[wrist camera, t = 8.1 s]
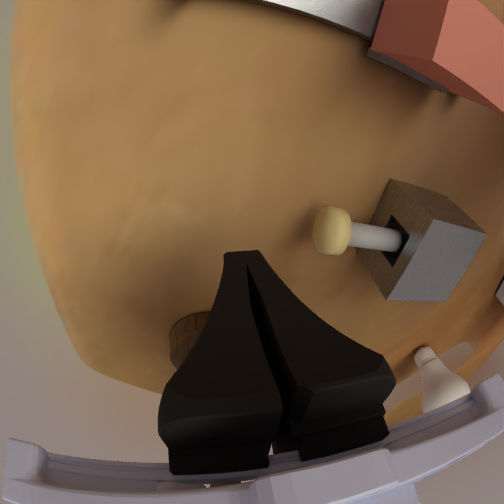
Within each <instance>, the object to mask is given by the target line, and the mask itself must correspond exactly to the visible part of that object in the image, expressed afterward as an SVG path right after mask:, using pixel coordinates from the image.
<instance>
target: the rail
mask: <svg viewBox="0 0 504 504" xmlns="http://www.w3.org/2000/svg"><path fill="white" fill-rule="evenodd" d="M247 1H251V2H256V3H260V4H264V5H268V6H272V7H276V8H279V9H283V10H286V11H290V12H293V13H297V14H300V15H303V16H306V17H309V18H312V19H315V20H318V21H321V22H324V23H326V24H329V25H332V26H335V27H337V28H340V29H342V30H345V31H347V32H350V33H352V34H355V35H357V36H359V37H362V38H364V39H366V40H369V41H371V42H373V39H374V36H375V33H376V29H377V26H378V22H379V19H380V15H381V12H382V8H383V5H384V1H385V0H247Z"/></svg>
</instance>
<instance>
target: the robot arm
mask: <svg viewBox="0 0 504 504" xmlns="http://www.w3.org/2000/svg"><path fill="white" fill-rule="evenodd" d="M395 385H396V379H395V377H394V375H393V373H392V370H391V368H390V366H389V365H388V363H387V362H386V360H385V358H384V357H383V355H381V354H379V353H377V352H375V351H373V350H370V349H368V348H366V347H364V346H362V345H360V344H358V343H357V342H355V341H353V340H352V339H350V338H348V337H347V336H345V335H343V334H342V333H340V332H339V331H337V330H336V329H334V328H333V327H332V326H330V325H329V324H327V323H326V322H325V321H323V320H322V319H321V318H320V317H318V316H317V315H316V314H315V313H313V312H312V311H311V310H310V309H309V308H308V307H307V306H306V305H304V304H303V303H302V302H301V301H300V300H299V299H298V298H297V297H296V296H295V295H294V294H293V293H292V291H291V290H290V289H289V288H288V287H287V286H286V285H285V284H284V282H283V281H282V280H281V279H280V278H279V277H278V275H277V274H276V273H275V272H274V270H273V269H272V268H271V266H270V265H269V264H268V262H267V261H266V260H265V258H264V257H263V255H262V254H261V252H260V251H258V250H252V251H237V252H226V253H225V254H224V266H223V273H222V277H221V281H220V285H219V289H218V292H217V295H216V298H215V301H214V304H213V307H212V309H211V312H210V314H209V316H208V319H207V321H206V323H205V325H204V327H203V329H202V331H201V333H200V335H199V337H198V339H197V340H196V342H195V344H194V346H193V347H192V349H191V350H190V352H189V353H188V355H187V357H186V358H185V360H184V361H183V363H182V364H181V366H180V367H179V368H178V370H177V371H176V372H175V373H174V375H173V376H172V377H171V379H170V380H169V381H168V382H167V384H166V386H165V389H164V392H163V395H162V398H161V402H160V406H159V412H158V433H159V436H160V437H161V439H162V440H163V442H164V443H165V444H166V446H167V447H168V451H169V453H168V454H169V463H137V462H119V461H107V460H96V459H87V458H80V457H72V456H66V455H60V454H53V453H48V452H47V451H46V450H45V449H43V448H42V447H40V446H38V445H36V444H34V443H30V442H26V441H21V440H17V439H13V438H9V439H8V442H7V448H6V456H5V463H4V472H3V482H2V494H1V496H2V498H3V499H4V500H7V501H9V502H11V503H14V504H420V501H419V498H418V495H417V492H416V489H415V487H414V483H417V482H419V481H421V480H423V479H425V478H427V477H429V476H431V475H433V474H435V473H437V472H439V471H441V470H443V469H445V468H447V467H448V466H450V465H452V464H454V463H456V462H457V461H459V460H461V459H463V458H464V457H466V456H468V455H469V454H471V453H473V452H474V451H476V450H477V449H479V448H481V447H482V446H484V445H485V444H487V443H488V442H490V441H491V440H493V439H494V438H496V437H497V436H498V435H499V434H501V433H502V432H504V382H503V380H502V378H501V377H500V375H499V374H498V373H497V374H495V375H493V376H491V377H489V378H487V379H485V380H483V381H482V382H480V383H479V384H478V385H477V386H476V387H475V388H474V389H473V390H472V391H471V393H469V394H467V395H465V396H463V397H461V398H459V399H457V400H454V401H452V402H450V403H448V404H445V405H443V406H441V407H439V408H436V409H434V410H431V411H429V412H426V413H424V414H421V415H419V416H416V417H414V418H411V419H408V420H406V421H403V422H400V423H397V424H394V425H391V426H389V427H387V425H386V422H385V420H384V417H383V415H384V414H385V409H384V406H383V404H382V403H383V402H384V401H385V400H386V398H387V397H388V396H389V395H390V393H391V392H392V390H393V388H394V387H395ZM271 444H272V448H273V455H268V454H269V451H270V447H271ZM254 479H256V480H255V481H250V482H244V483H238V484H232V485H225V486H218V487H209V488H206V486H204V485H203V484H214V483H227V482H238V481H247V480H254Z"/></svg>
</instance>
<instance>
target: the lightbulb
mask: <svg viewBox="0 0 504 504" xmlns="http://www.w3.org/2000/svg"><path fill="white" fill-rule="evenodd" d="M414 359H415V362H416V364H417V366H418V369H419V375H420V378H421V381H422V387H423V393H422V410H423V413H426V412H429V411H431V410H434V409H436V408H439V407H441V406H443V405H445V404H448V403H450V402H452V401H454V400H457V399H459V398H461V397H463V396H465V395H467V394H469V393H471V392H470V388H469V386H468V384H467V383H466V381H465V380H464V379H462V378H461V377H459V376H458V375H456V374H454V373H452V372H451V371H449V370H448V369H447V368H446V367H445V366H444V365H443V363H442V362H441V360H440V359H439V358H437V357H436V355H435V354H434V352H433V351H432V349H431V348H430V347H425V348H424V347H421V348H419V349H418V350H417V353H416V354H415V356H414Z"/></svg>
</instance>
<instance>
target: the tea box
mask: <svg viewBox="0 0 504 504" xmlns="http://www.w3.org/2000/svg"><path fill="white" fill-rule="evenodd" d="M496 297H497V298H498V300H499V301H500V302H501V303H502V305H503V306H504V280H503V282H502V284H501V286H500V288H499V290H498V291H497V293H496Z"/></svg>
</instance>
